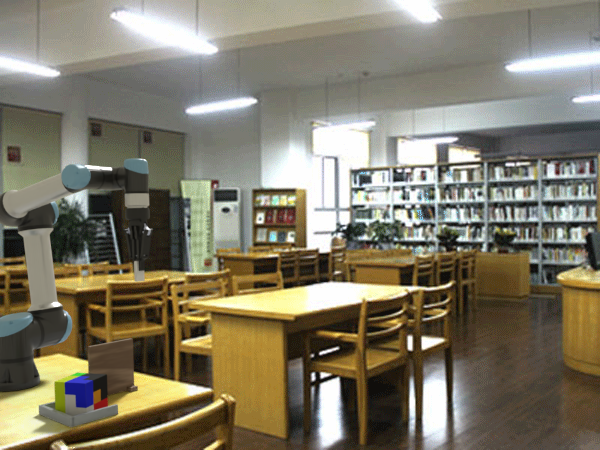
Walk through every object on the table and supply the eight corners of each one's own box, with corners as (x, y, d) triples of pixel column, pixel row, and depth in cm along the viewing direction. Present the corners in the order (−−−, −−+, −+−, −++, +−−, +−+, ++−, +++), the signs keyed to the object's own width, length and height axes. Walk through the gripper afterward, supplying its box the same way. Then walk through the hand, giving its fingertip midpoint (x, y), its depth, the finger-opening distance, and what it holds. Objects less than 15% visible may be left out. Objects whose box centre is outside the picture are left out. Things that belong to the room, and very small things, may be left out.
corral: (39, 414, 174) (38, 405, 174) (85, 402, 184) (84, 393, 184) (70, 427, 162) (70, 417, 162) (118, 413, 172) (117, 404, 172)
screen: (85, 397, 189) (83, 345, 189) (128, 386, 200) (126, 337, 200) (95, 401, 185) (93, 347, 185) (138, 389, 196) (137, 339, 196)
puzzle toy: (86, 420, 168) (85, 383, 168) (55, 417, 171) (54, 381, 170) (108, 409, 177) (107, 374, 177) (78, 406, 180) (77, 372, 180)
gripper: (159, 206, 196) (161, 280, 196) (135, 207, 204) (138, 279, 205) (138, 206, 190) (141, 283, 190) (115, 208, 199) (118, 281, 199)
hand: (139, 281), depth 198 cm, fingers closed
